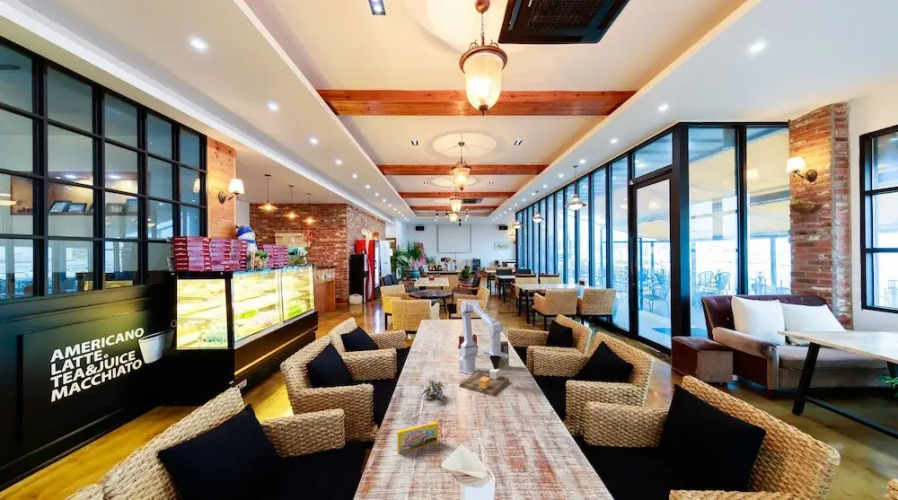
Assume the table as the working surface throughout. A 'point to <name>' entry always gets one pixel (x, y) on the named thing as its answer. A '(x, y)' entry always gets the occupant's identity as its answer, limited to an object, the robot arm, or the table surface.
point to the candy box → (417, 437)
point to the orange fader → (484, 382)
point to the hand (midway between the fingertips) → (495, 368)
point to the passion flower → (434, 389)
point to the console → (473, 384)
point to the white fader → (494, 373)
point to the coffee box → (503, 361)
